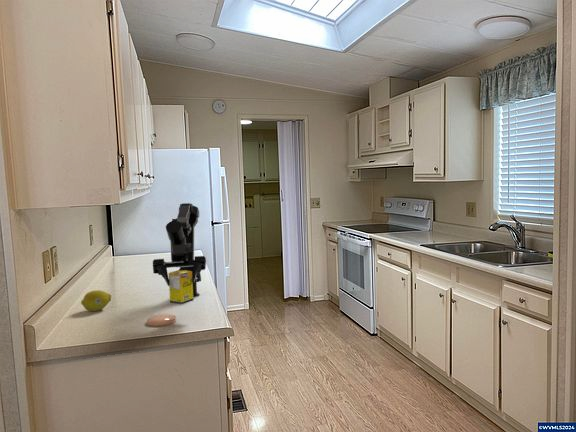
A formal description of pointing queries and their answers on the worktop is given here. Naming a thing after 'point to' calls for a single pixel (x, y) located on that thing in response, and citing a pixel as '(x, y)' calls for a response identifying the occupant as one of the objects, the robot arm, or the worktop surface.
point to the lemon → (96, 300)
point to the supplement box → (180, 286)
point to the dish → (161, 320)
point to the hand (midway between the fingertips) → (181, 284)
